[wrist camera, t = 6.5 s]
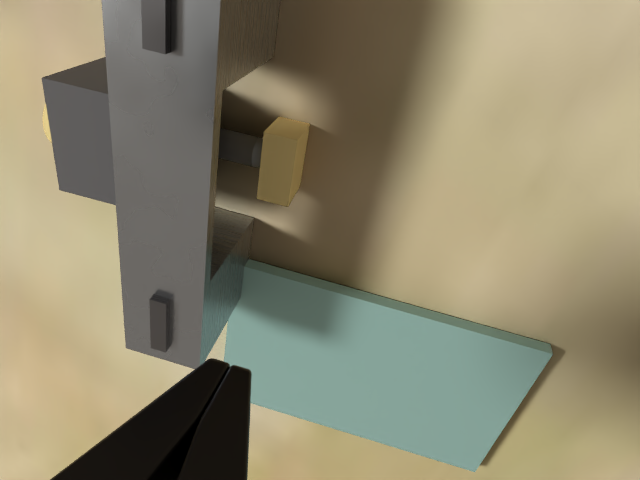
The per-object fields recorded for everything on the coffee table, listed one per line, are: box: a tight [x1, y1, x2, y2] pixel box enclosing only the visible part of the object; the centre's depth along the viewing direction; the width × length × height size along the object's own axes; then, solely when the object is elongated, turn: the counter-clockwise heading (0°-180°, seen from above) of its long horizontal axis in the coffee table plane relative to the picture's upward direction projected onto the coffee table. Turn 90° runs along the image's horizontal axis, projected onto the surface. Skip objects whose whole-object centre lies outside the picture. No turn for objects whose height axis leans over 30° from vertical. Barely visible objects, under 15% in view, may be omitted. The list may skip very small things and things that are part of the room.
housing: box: [102, 0, 280, 369], centre depth 16 cm, size 3×15×5 cm, turn 170°
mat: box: [224, 259, 553, 472], centre depth 23 cm, size 14×9×1 cm, turn 80°
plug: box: [42, 57, 310, 207], centre depth 17 cm, size 9×4×4 cm, turn 81°
